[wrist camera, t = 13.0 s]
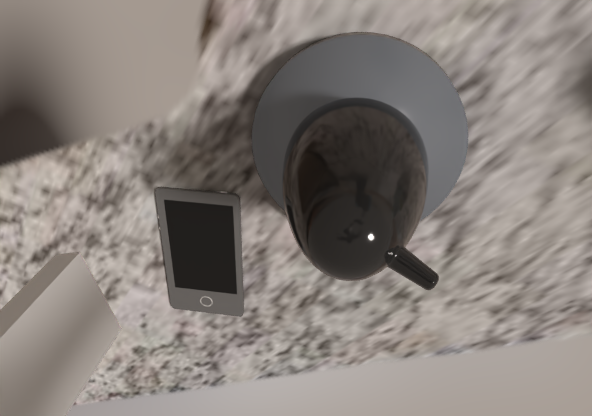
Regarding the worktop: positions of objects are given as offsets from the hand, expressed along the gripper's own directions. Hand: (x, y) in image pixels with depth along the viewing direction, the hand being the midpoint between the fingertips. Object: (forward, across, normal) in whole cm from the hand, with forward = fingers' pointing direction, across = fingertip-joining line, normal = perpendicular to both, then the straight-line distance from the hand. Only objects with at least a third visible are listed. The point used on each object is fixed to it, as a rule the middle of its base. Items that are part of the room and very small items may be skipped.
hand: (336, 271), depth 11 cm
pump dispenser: (+26, -2, -8) cm, 27 cm away
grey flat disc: (+28, -2, -8) cm, 29 cm away
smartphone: (+28, -19, -17) cm, 38 cm away
